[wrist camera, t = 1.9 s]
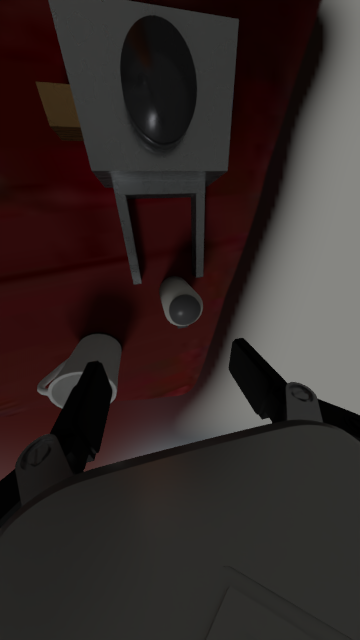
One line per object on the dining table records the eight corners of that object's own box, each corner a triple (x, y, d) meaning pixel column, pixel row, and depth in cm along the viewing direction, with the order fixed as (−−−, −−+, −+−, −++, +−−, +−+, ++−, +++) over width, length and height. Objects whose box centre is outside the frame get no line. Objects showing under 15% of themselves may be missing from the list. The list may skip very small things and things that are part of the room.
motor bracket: (47, 67, 15) (-29, -65, 8) (210, 83, 17) (251, -9, 11) (109, 283, 25) (97, 299, 19) (205, 272, 28) (224, 284, 21)
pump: (157, 277, 27) (162, 294, 19) (188, 274, 27) (205, 289, 20) (161, 313, 30) (168, 339, 22) (189, 309, 31) (204, 333, 23)
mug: (124, 331, 30) (116, 370, 21) (124, 364, 34) (117, 409, 25) (59, 329, 27) (19, 373, 18) (67, 365, 31) (38, 416, 22)
